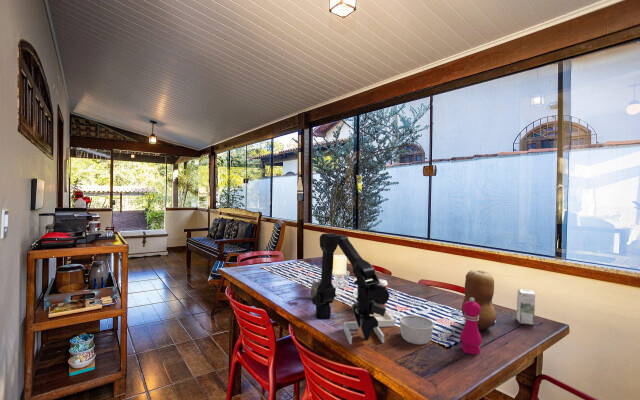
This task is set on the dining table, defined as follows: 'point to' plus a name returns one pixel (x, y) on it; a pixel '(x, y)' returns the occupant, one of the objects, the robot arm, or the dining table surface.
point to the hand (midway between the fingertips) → (363, 335)
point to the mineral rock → (315, 289)
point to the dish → (384, 320)
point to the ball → (360, 332)
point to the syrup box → (525, 306)
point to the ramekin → (416, 329)
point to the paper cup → (384, 282)
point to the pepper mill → (471, 328)
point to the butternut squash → (481, 296)
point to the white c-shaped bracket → (354, 325)
